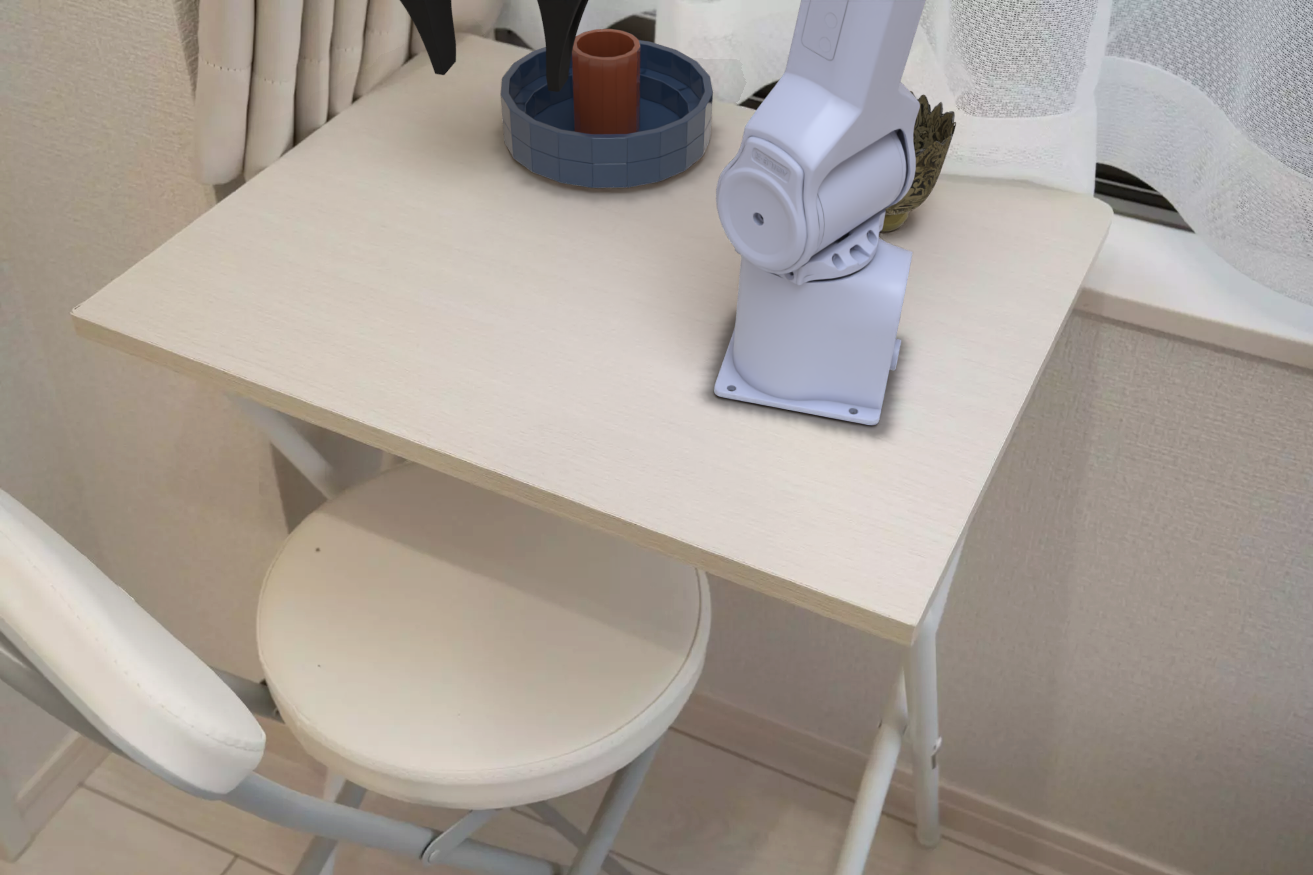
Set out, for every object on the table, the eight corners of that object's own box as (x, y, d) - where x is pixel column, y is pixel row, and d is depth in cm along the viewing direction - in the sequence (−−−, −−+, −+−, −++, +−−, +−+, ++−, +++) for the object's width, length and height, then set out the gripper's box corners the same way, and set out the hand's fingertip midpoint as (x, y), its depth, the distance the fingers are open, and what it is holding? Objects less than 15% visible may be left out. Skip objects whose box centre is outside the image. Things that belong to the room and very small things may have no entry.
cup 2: (913, 264, 78) (936, 156, 72) (809, 233, 80) (823, 126, 74) (947, 208, 82) (970, 103, 77) (848, 181, 85) (863, 77, 79)
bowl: (728, 107, 92) (732, 52, 89) (681, 210, 82) (683, 152, 78) (543, 80, 95) (541, 26, 92) (475, 176, 84) (469, 119, 81)
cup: (646, 122, 89) (647, 33, 84) (628, 154, 86) (629, 63, 81) (585, 113, 90) (583, 25, 85) (565, 144, 87) (562, 54, 82)
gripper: (628, -160, 68) (627, 63, 77) (393, -185, 70) (420, 34, 79) (591, -119, 63) (596, 114, 72) (340, -147, 65) (376, 81, 75)
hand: (501, 76), depth 75 cm, fingers open, 7 cm apart
